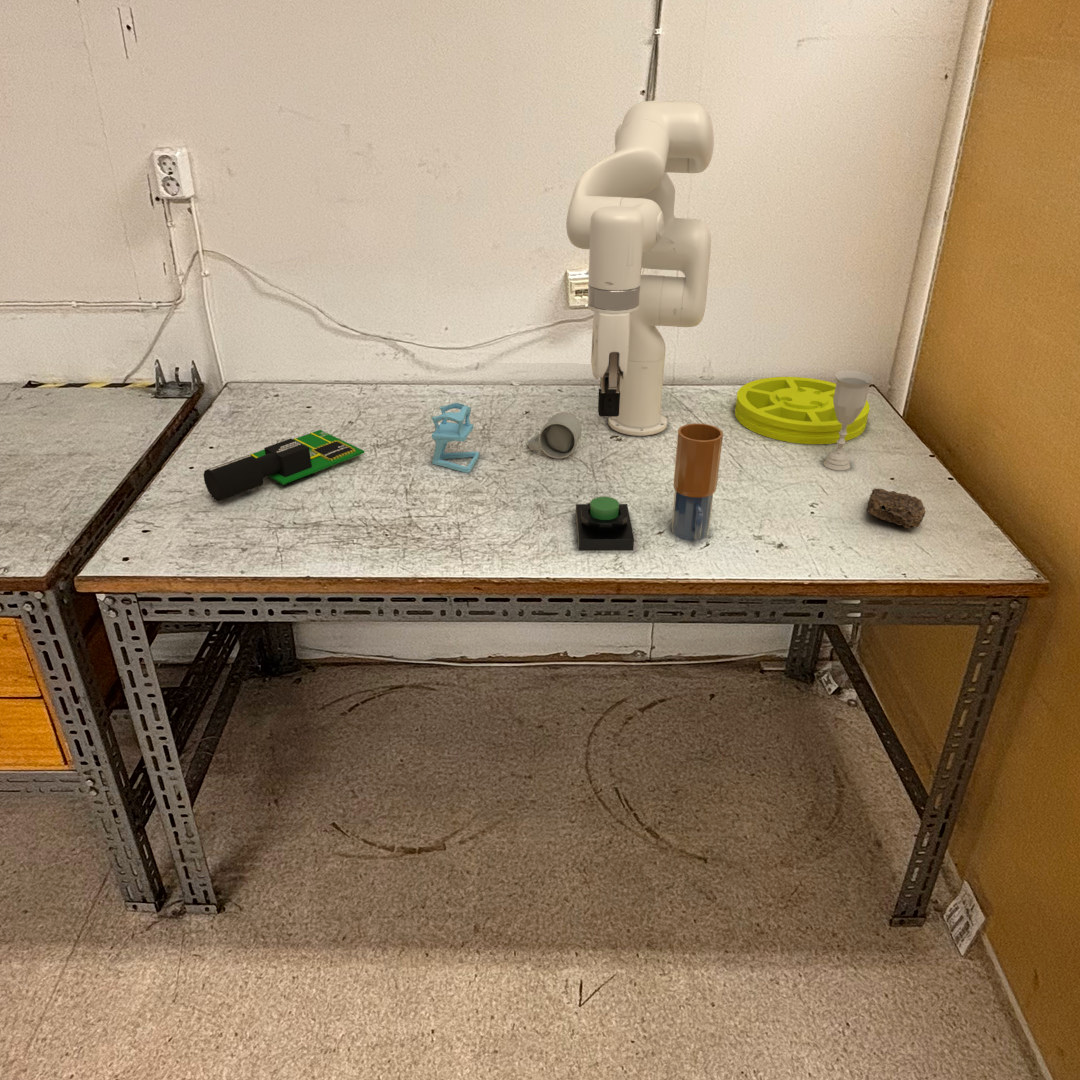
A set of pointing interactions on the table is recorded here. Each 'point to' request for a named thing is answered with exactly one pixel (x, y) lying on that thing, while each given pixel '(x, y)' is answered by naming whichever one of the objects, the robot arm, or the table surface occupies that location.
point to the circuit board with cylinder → (278, 464)
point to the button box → (604, 531)
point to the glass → (697, 460)
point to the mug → (691, 517)
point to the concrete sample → (896, 508)
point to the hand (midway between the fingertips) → (608, 414)
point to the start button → (604, 508)
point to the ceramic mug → (558, 436)
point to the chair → (452, 436)
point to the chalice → (847, 410)
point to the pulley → (794, 410)
